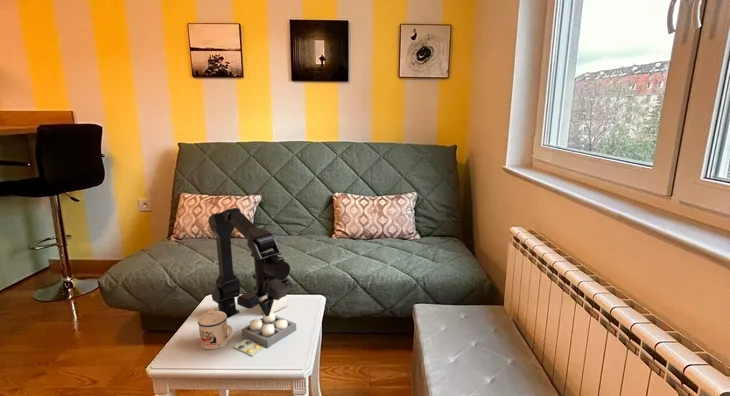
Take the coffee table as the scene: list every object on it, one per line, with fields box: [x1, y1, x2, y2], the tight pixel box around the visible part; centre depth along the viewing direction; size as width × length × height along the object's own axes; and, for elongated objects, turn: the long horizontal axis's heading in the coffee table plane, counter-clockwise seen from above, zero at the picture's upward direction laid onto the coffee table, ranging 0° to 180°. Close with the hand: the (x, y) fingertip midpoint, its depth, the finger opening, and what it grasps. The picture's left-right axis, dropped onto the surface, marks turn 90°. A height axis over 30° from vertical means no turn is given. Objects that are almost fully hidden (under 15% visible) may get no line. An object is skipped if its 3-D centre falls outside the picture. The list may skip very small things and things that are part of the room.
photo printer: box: [262, 294, 288, 315], centre depth 155 cm, size 10×4×12 cm, turn 141°
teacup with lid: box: [197, 308, 234, 350], centre depth 132 cm, size 12×9×12 cm
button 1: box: [249, 318, 262, 333], centre depth 138 cm, size 4×4×3 cm
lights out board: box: [233, 315, 297, 357], centre depth 137 cm, size 13×19×2 cm
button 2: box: [262, 324, 275, 338], centre depth 134 cm, size 4×4×3 cm
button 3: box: [262, 312, 276, 324], centre depth 143 cm, size 4×4×3 cm
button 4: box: [275, 319, 288, 330], centre depth 140 cm, size 4×4×3 cm
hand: (267, 315), depth 133 cm, fingers closed
